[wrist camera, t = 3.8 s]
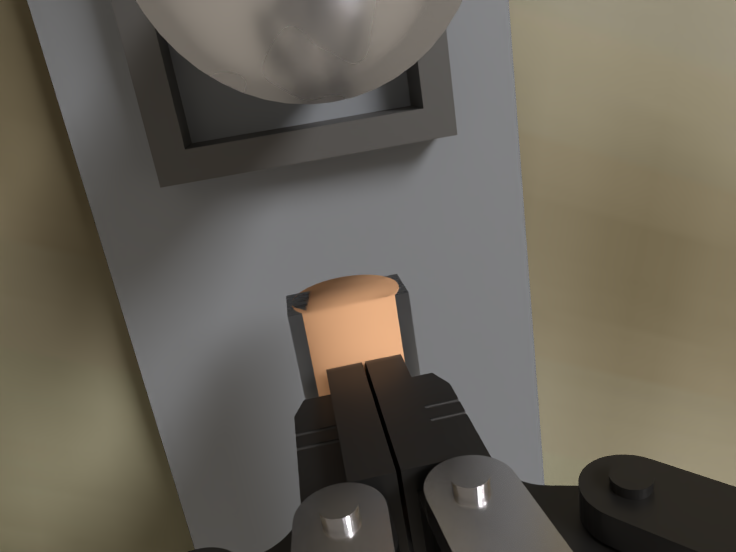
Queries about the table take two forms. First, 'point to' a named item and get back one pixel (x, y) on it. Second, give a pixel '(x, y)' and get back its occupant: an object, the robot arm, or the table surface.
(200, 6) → the translucent white cylinder
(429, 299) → the grey flat base
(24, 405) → the table surface
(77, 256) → the table surface
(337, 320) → the lever
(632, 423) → the table surface
